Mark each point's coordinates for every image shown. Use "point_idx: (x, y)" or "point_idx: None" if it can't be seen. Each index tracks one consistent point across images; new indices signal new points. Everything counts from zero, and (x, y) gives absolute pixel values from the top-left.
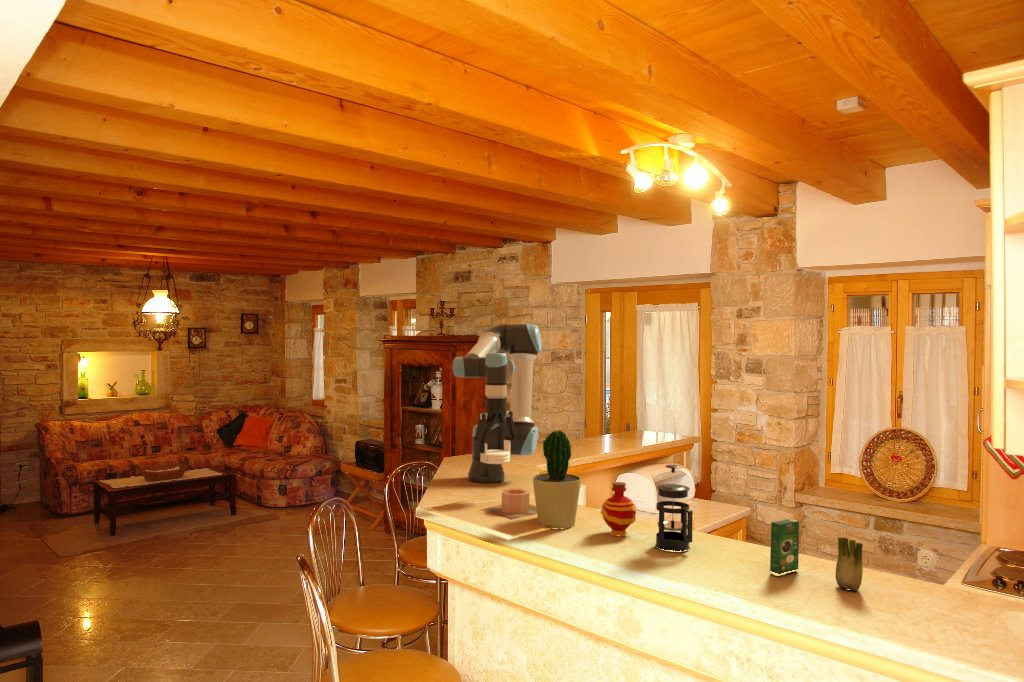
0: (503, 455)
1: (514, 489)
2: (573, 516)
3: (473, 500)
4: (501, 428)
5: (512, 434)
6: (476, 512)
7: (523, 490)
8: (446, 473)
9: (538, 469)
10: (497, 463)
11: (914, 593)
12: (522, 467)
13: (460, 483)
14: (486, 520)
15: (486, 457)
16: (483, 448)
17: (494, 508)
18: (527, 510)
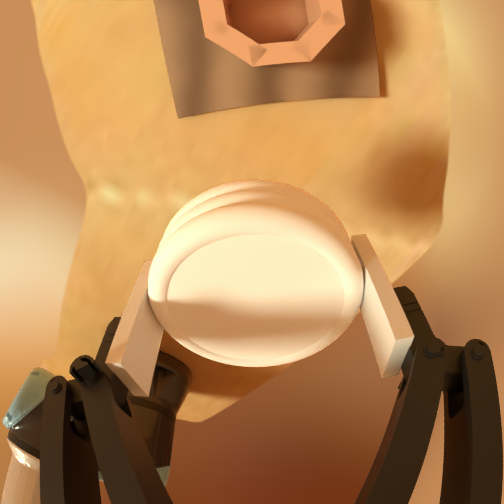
0: (253, 206)
1: (247, 43)
2: None
3: None
4: (164, 488)
5: (72, 411)
6: (375, 109)
7: (219, 5)
8: (208, 414)
9: (43, 364)
10: (300, 189)
11: None
12: None
13: (219, 371)
14: (403, 17)
15: (368, 257)
16: (405, 314)
17: (327, 74)
18: None
